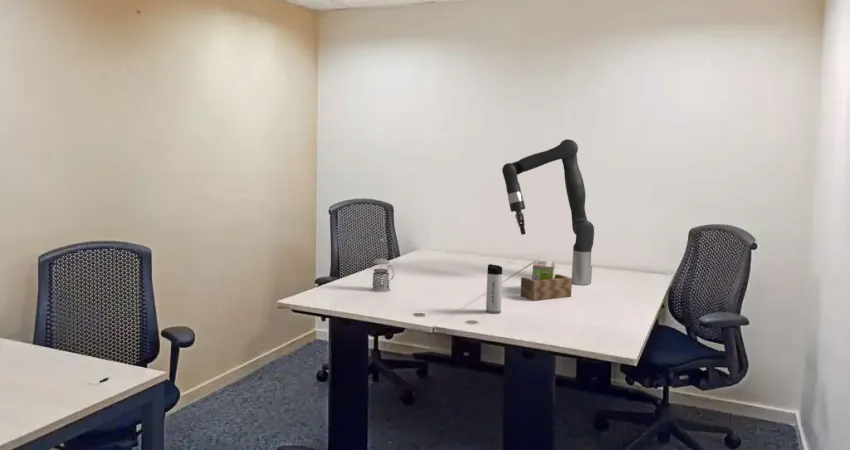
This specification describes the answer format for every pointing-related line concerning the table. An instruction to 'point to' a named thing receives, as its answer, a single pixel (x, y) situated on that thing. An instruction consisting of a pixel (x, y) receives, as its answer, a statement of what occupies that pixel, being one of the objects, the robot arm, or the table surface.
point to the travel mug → (494, 289)
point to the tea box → (543, 270)
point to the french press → (381, 276)
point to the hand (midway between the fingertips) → (523, 234)
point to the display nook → (546, 288)
